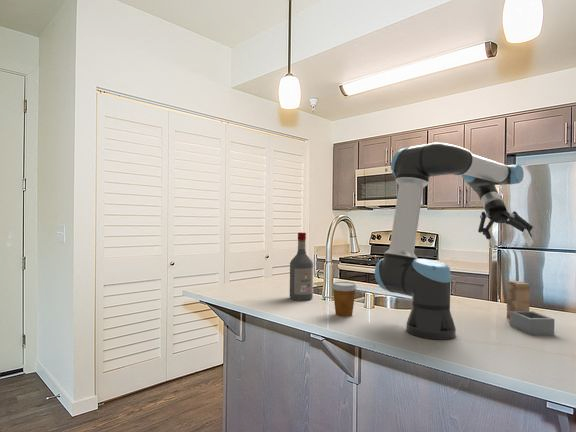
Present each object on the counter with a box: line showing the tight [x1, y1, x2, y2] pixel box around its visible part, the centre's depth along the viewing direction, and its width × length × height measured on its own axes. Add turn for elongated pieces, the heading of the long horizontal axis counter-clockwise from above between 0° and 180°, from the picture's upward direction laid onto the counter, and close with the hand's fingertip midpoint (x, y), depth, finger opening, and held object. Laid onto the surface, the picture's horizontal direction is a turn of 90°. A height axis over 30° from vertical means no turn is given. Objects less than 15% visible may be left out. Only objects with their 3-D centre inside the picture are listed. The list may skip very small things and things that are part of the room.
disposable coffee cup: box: [331, 281, 358, 318], centre depth 144 cm, size 10×10×12 cm
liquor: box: [289, 232, 314, 302], centre depth 171 cm, size 9×9×30 cm
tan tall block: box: [506, 280, 531, 320], centre depth 140 cm, size 6×4×14 cm
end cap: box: [509, 310, 555, 336], centre depth 128 cm, size 10×8×5 cm
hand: (512, 244), depth 144 cm, fingers open, 13 cm apart
